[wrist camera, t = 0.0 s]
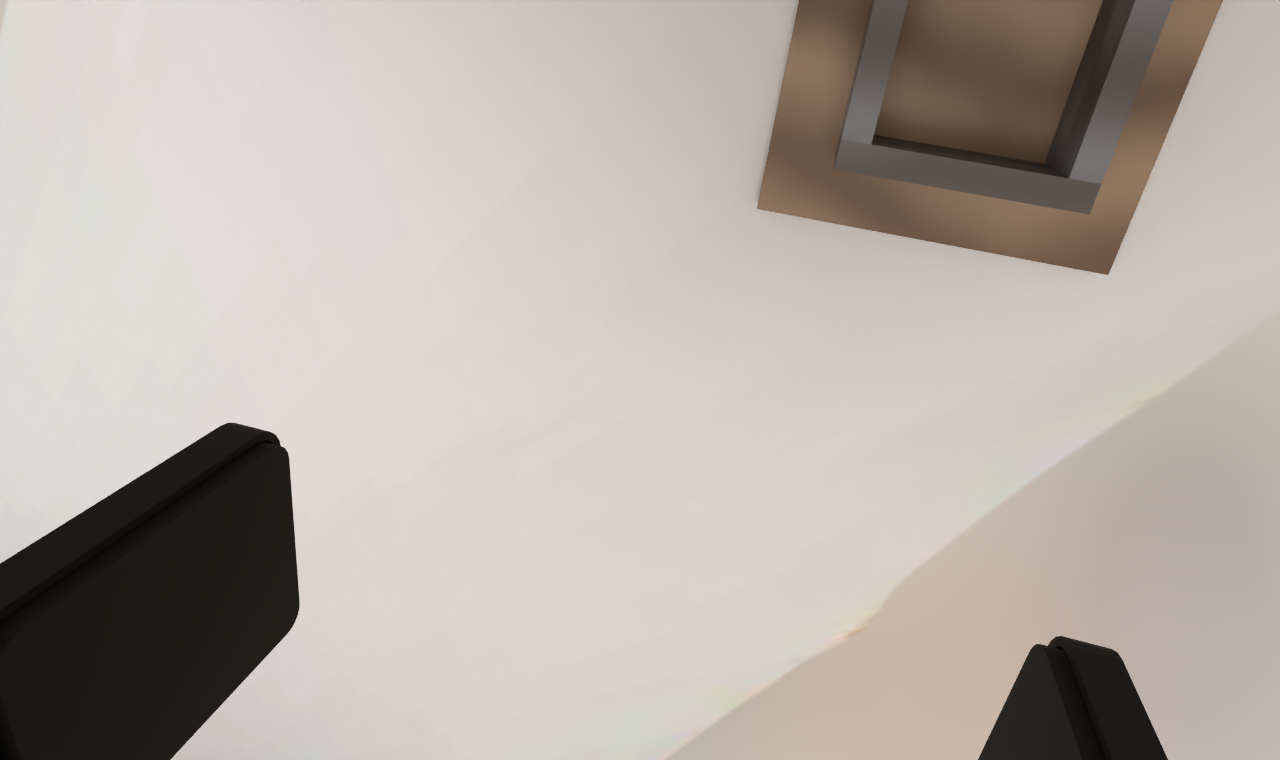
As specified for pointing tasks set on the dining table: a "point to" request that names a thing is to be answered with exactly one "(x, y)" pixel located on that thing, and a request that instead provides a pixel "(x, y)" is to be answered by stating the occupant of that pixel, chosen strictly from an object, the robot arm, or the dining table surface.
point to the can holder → (982, 119)
